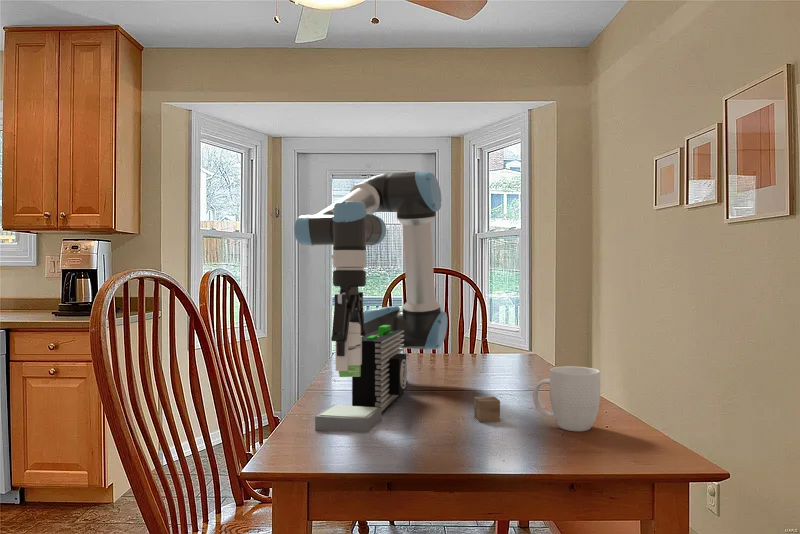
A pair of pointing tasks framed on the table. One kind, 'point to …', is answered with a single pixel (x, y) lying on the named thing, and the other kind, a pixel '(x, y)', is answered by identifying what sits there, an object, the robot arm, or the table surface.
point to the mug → (572, 396)
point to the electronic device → (380, 370)
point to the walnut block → (487, 409)
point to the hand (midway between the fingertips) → (349, 367)
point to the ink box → (353, 351)
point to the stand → (348, 418)
